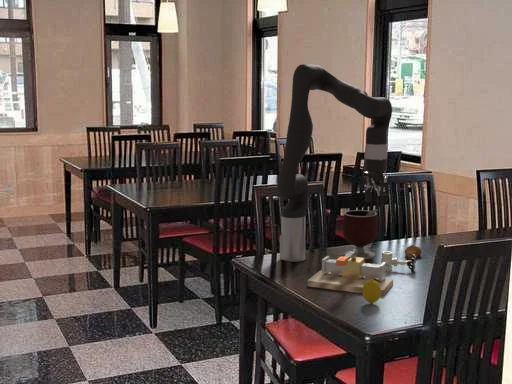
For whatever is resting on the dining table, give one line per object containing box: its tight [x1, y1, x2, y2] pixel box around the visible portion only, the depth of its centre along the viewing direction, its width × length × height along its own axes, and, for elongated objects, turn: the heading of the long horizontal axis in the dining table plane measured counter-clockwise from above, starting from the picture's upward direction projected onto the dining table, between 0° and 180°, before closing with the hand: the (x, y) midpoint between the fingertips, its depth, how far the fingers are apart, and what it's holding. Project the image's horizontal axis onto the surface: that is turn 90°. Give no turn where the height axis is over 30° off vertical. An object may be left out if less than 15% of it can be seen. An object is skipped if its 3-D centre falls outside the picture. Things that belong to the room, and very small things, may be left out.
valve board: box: [307, 269, 394, 297], centre depth 212 cm, size 26×13×2 cm, turn 65°
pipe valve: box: [321, 254, 387, 281], centre depth 215 cm, size 21×6×8 cm, turn 65°
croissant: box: [404, 244, 422, 261], centre depth 248 cm, size 14×7×5 cm, turn 156°
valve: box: [380, 250, 417, 273], centre depth 229 cm, size 7×7×12 cm
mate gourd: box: [341, 208, 379, 260], centre depth 248 cm, size 16×14×20 cm
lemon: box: [362, 279, 381, 305], centre depth 194 cm, size 6×6×8 cm
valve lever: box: [335, 248, 358, 266], centre depth 208 cm, size 17×3×2 cm, turn 155°
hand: (374, 204), depth 215 cm, fingers open, 8 cm apart
